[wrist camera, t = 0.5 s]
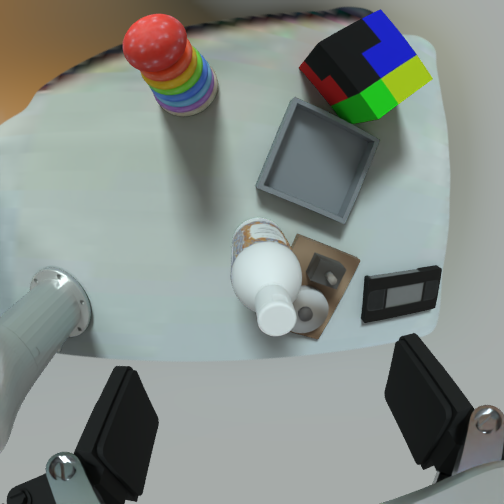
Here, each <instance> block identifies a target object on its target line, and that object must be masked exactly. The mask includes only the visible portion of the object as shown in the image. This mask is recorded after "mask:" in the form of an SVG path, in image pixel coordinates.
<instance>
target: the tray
mask: <svg viewBox="0 0 504 504" xmlns="http://www.w3.org/2000/svg"><path fill="white" fill-rule="evenodd" d="M379 141H380V140H379V139H378V138H376V137H374V136H372V135H371V134H369V133H367V132H365V131H364V130H362V129H360V128H358V127H356V126H354V125H352V124H351V123H349V122H347V121H345V120H343V119H341V118H339V117H337V116H335V115H333V114H331V113H329V112H327V111H325V110H323V109H321V108H318V107H316V106H314V105H312V104H310V103H308V102H305V101H303V100H301V99H299V98H296V97H294V98H293V99H292V100H291V101H290V103H289V105H288V108H287V110H286V113H285V115H284V117H283V120H282V122H281V125H280V127H279V129H278V132H277V134H276V137H275V139H274V141H273V144H272V146H271V149H270V151H269V154H268V156H267V158H266V161H265V163H264V166H263V168H262V171H261V173H260V176H259V178H258V181H257V183H256V187H257V188H258V189H261V190H263V191H266V192H268V193H271V194H273V195H276V196H278V197H281V198H283V199H286V200H288V201H291V202H293V203H296V204H298V205H301V206H303V207H305V208H308V209H310V210H313V211H315V212H317V213H320V214H322V215H324V216H327V217H329V218H331V219H334V220H336V221H338V222H340V223H343V224H345V223H346V221H347V218H348V216H349V214H350V212H351V209H352V207H353V205H354V202H355V200H356V198H357V195H358V193H359V191H360V188H361V186H362V184H363V181H364V179H365V176H366V174H367V171H368V169H369V166H370V164H371V161H372V159H373V156H374V154H375V151H376V149H377V146H378V144H379Z"/></svg>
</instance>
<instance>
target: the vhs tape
mask: <svg viewBox="0 0 504 504" xmlns="http://www.w3.org/2000/svg"><path fill="white" fill-rule="evenodd" d="M441 271H442V269H441V268H440V267H438V266H437V265H435V266H429V267H422V268H417V269H415V270H408V271H402V272H395V273H388V274H381V275H374V276H365V279H364V292H363V304H362V314H361V319H362V320H363V322H364V323H367V322H372V321H377V320H383V319H388V318H393V317H397V316H402V315H407V314H411V313H416V312H420V311H425V310H429V309H433V308H435V306H436V301H437V296H438V290H439V284H440V278H441Z"/></svg>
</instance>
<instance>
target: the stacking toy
mask: <svg viewBox="0 0 504 504" xmlns="http://www.w3.org/2000/svg"><path fill="white" fill-rule="evenodd" d="M123 52H124V56H125V58H126V59H127V61H128V62H129V63H130V64H131V65H132V66H133V67H135V68H136V69H138V70H140V71H141V75H142V77H143V79H144V80H145V82H146V83H147V84H148V85H149V86H150V88H151V90H152V91H153V94H154V97H155V99H156V100H157V102H158V103H159V104H160V105H161V107H162V108H163V109H164V110H166V111H167V112H169V113H170V114H173V115H176V116H191V115H195V114H197V113H199V112H201V111H203V110H204V109H206V108H207V107H208V106H209V105H210V104H211V102H212V101H213V100H214V98H215V96H216V93H217V89H218V80H217V76H216V73H215V71H214V70H213V68H212V67H211V66H210V65H209V64H208V62H207V61H206V60H205V59H204V57H203V56H202V55H201V54H200V53H199V52H198V51H197V50H196V49H195V48H194V47H193V46H192V45H191V44H190V42H189V40H188V39H187V34H186V31H185V29H184V27H183V25H182V24H181V23H180V22H179V21H178V20H177V19H175V18H174V17H171V16H169V15H165V14H153V15H148V16H145V17H143V18H141V19H139V20H138V21H137V22H135V23H134V24H133V25H132V26H131V27H130V28H129V29H128V31H127V33H126V35H125V37H124V40H123Z"/></svg>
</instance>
